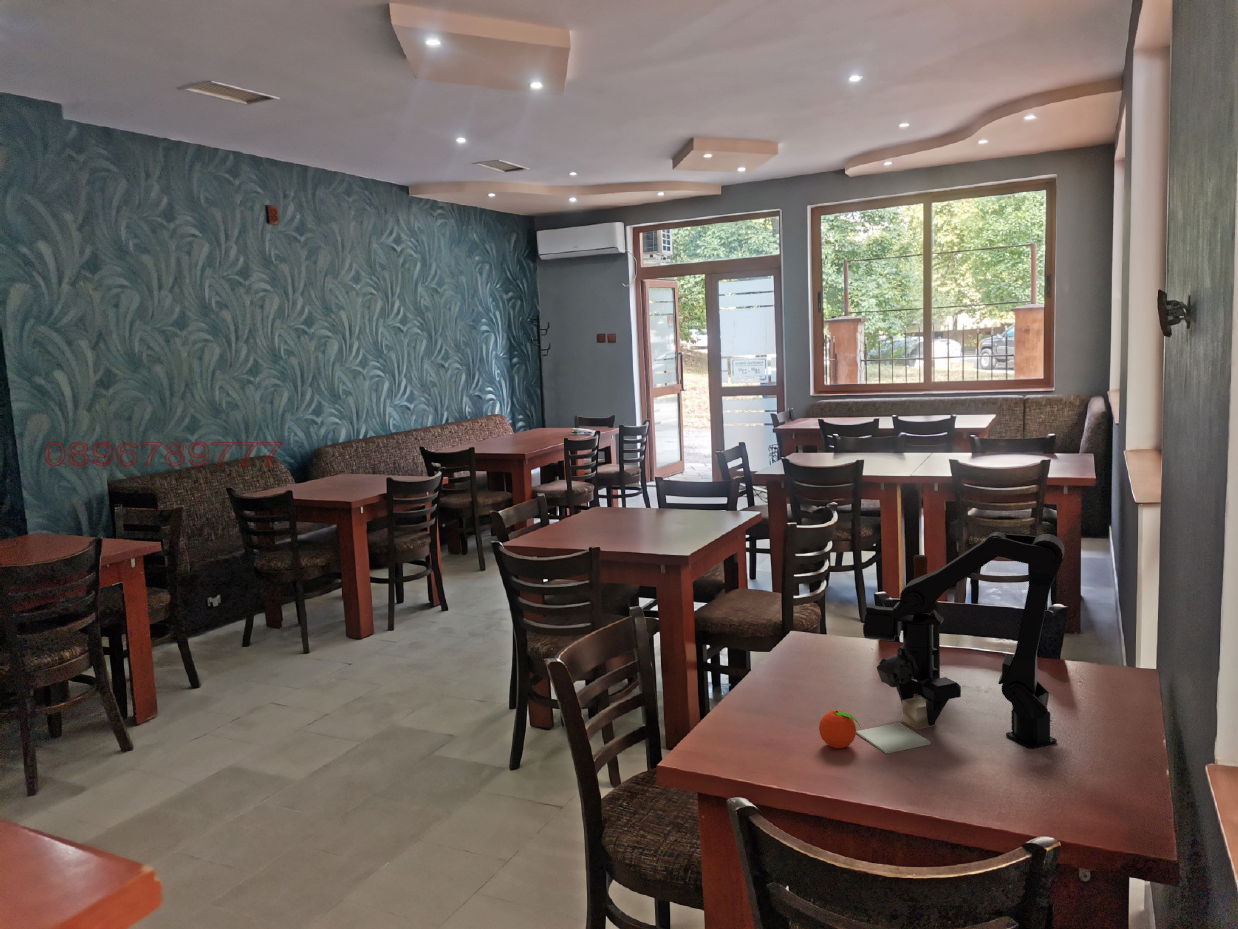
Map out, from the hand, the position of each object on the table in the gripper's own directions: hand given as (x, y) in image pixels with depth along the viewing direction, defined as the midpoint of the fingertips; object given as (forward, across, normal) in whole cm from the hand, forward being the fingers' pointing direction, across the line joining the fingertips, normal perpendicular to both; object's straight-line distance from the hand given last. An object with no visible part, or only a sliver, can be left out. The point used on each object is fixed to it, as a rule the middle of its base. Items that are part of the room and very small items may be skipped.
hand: (919, 718), depth 177 cm
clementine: (+1, +3, -20) cm, 20 cm away
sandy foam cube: (+1, 0, 0) cm, 1 cm away
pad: (+1, +4, -9) cm, 10 cm away
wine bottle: (+1, -15, +12) cm, 19 cm away
